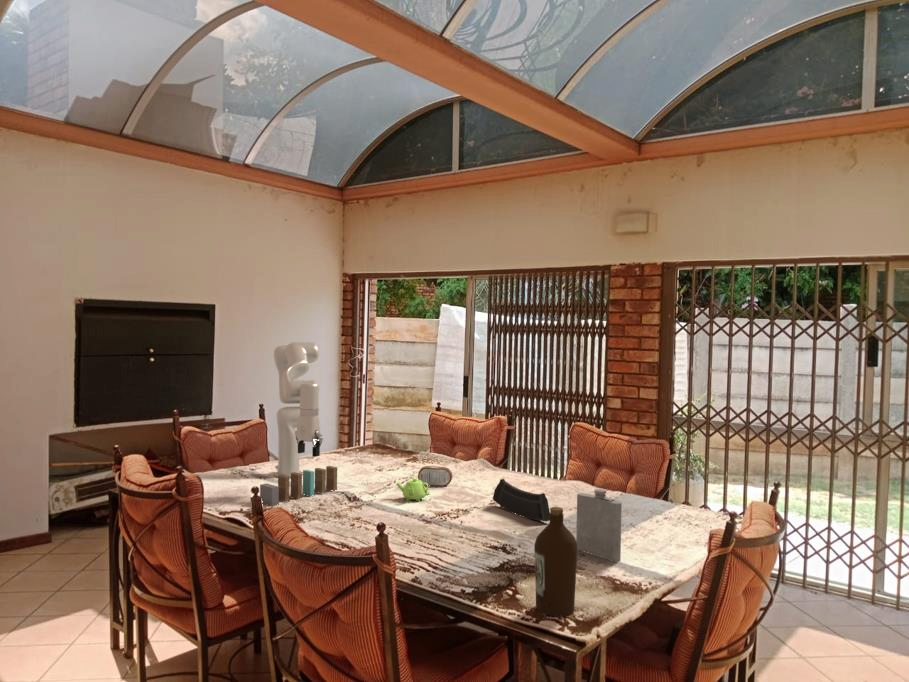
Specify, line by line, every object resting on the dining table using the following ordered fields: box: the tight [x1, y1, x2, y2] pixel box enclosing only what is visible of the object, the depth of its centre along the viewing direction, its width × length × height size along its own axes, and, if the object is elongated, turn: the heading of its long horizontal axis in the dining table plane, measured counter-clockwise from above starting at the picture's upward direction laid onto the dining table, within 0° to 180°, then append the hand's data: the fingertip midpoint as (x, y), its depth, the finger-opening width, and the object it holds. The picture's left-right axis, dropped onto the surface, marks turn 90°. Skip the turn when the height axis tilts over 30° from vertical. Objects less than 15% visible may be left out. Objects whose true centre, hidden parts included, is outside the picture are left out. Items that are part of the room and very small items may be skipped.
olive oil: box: [533, 506, 579, 617], centre depth 172 cm, size 11×11×25 cm
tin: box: [417, 465, 453, 487], centre depth 305 cm, size 15×3×8 cm, turn 84°
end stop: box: [259, 482, 280, 507], centre depth 270 cm, size 8×3×7 cm, turn 49°
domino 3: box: [302, 469, 315, 497], centre depth 284 cm, size 2×5×10 cm, turn 49°
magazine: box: [492, 478, 551, 523], centre depth 259 cm, size 17×3×30 cm
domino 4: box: [314, 467, 327, 494], centre depth 289 cm, size 2×5×10 cm, turn 49°
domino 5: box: [325, 465, 338, 492], centre depth 293 cm, size 2×5×10 cm, turn 49°
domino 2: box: [290, 472, 303, 500], centre depth 280 cm, size 2×5×10 cm, turn 49°
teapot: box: [396, 477, 430, 502], centre depth 280 cm, size 11×12×8 cm
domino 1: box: [277, 474, 291, 503], centre depth 275 cm, size 2×5×10 cm, turn 49°
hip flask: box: [575, 488, 623, 562], centre depth 215 cm, size 16×4×20 cm, turn 41°
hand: (308, 454), depth 284 cm, fingers open, 9 cm apart
